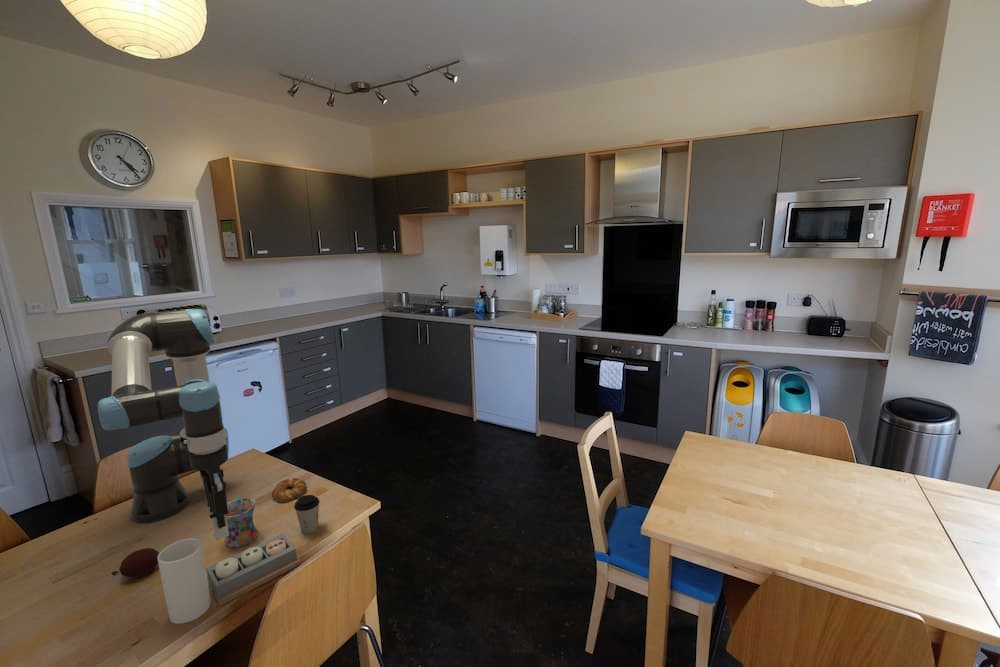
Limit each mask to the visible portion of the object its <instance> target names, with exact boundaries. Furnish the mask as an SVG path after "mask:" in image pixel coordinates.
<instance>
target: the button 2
mask: <svg viewBox="0 0 1000 667" xmlns="http://www.w3.org/2000/svg"><path fill="white" fill-rule="evenodd" d="M242 552H243V553H242ZM242 552H241V553H242V554H241V560H242V566H243V568H244V569H245V568H247V567H249V566H251V565H254V564H256V563H258V562H260V561H262V560H263V553H262V548H261V547H255V546H252V547H249V548H247V549H245V550H243V551H242Z"/></svg>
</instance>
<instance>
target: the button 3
mask: <svg viewBox="0 0 1000 667" xmlns="http://www.w3.org/2000/svg"><path fill="white" fill-rule="evenodd" d="M285 549H286V543H285V541H284V540H275V541H272V542H270V543H269V544H268V545H267V546H266V554H267V555H268V557H270V556H272V555H274V554H276V553H279V552H281V551H283V550H285Z"/></svg>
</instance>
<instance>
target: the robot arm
mask: <svg viewBox="0 0 1000 667" xmlns="http://www.w3.org/2000/svg"><path fill="white" fill-rule="evenodd" d="M215 343H216V342H215V337H214V333H213V331H212V327H211V324H210V321H209V319H208V317H207V314H206V311H204V310H202V309H201V308H200V309H199V308H195V309H194V308H192V309H187V308H186V309H175V310H166V311H165V310H163V311H156V312H144V313H139V314H137V315H136V314H135V315H133V316H131V317H129V318H127V319H125V320H124V321H122V322H120V324H119V325H117V326H116V327H115V328H114V330H113V331H111V333H110V335H109V337H108V340H107V352H108V354H110V356H111V358H112V359H111V396H108V397H105V398H101V399H100V400H99V401H98V402H97V412H98V413H97V414H98V419H99V423H100V426H101V427H102V429H103V430H105V431H115V430H120V429H128V428H132V427H136V426H142V425H147V424H149V423H150V424H151V423H155V422H160V421H167V420H170V419H176V418H180V417H181V418H182V422H183V427H184V428H182V429H181V431H180V432H179V438H178V437H177V438H173V437H172V436H170V435H168V434H167V435H158V436H157V435H156V436H153V437H150V438H148V439H145V440H142V441H141V442H139V443H137V444H135V445H134V446H132V447H131V448H130V449H129V450H128V452H127V467H128V469H129V473H130V478H131V484H132V488H133V499H132V502H131V503H132V504H131V508H130V516H131V517H130V518H131V520H132V521H133V522H135V523H141V524H144V523H145V524H146V523H153V522H158V521H161V520H165V519H167V518H169V517H172V516H174V515H176V514H178V513H180V512H181V511H182V510H184V509H185V508H187V507H188V505H189V503H190V500H191V499H190V496H189V493H188V491H187V490H186V488H185V487H184V485H183V484H182V482H181V481H180V478H179V477H180V475H183V474H187V473H191V472H194V471H199V474H200V477H201V480H202V485H203V489H204V494H205V497H206V503H207V504H206V505H207V508H209V512H210V514H209V518H210V519H211V520H212V528H213V534H214V538H215V541H220V540H222V539H224V538H226V537H227V536H229V531H228V524H227V518H226V514H228V510H227V503H228V501H227V491H226V490H227V482H226V480H225V481H224V477H225V474H224V469H221V466H222V465H223V464H225V463H226V462H227V461H228V459H229V452H230V451H229V450H230V448H229V447H230V445H229V441H230V440H229V432H228V429H227V428H226V427H225V426H224V424H223V416H222V407H221V400H220V399H221V395H220V392H219V390H218V385H217V384H216V383H214V382H213V381H212V382H211V381H210V376H209V369H208V364H207V355H208V354H209V352H211V345H214V344H215ZM163 351H164V353H165V356H166V357H167V358H168V359H170V360H172V364H173V370H174V376H175V381H176V385H175V386H170V387H169V386H168V387H165V388H164V387H163V388H158V389H156V388H155V389H152V380H151V379H152V378H151V369H150V359H149V358H150V357H149V356H150V354H151V353H152V352H163Z"/></svg>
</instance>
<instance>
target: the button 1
mask: <svg viewBox="0 0 1000 667" xmlns="http://www.w3.org/2000/svg"><path fill="white" fill-rule="evenodd" d="M217 563H218V564H217ZM217 563H216V564H217V565H216V567H215V571H216V577H217V581H220V580H222V579H224V578H226V577H229V576H231V575H233V574H235V573H237V572H239V568H238V561H237V559H236V558H231V557H229V558H224V559H222V560H221V561H219V562H217Z"/></svg>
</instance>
